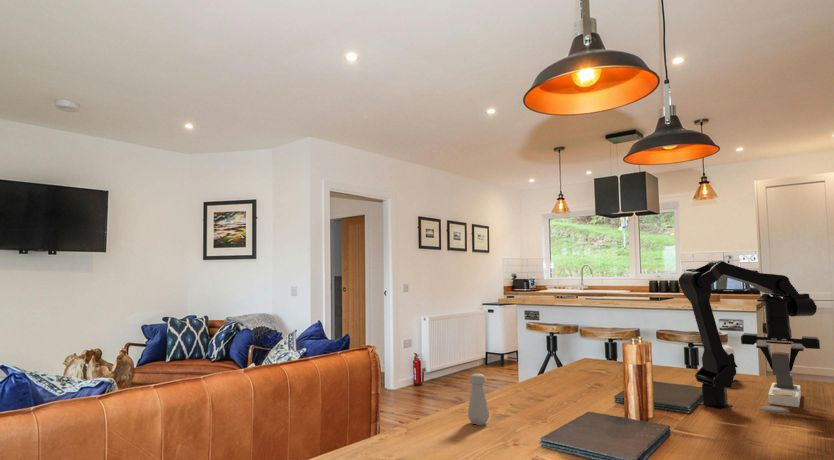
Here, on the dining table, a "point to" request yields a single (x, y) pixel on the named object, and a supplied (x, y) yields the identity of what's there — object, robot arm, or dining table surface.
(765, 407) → the coaster
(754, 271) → the robot arm
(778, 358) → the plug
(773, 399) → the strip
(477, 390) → the salt shaker
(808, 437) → the dining table surface
